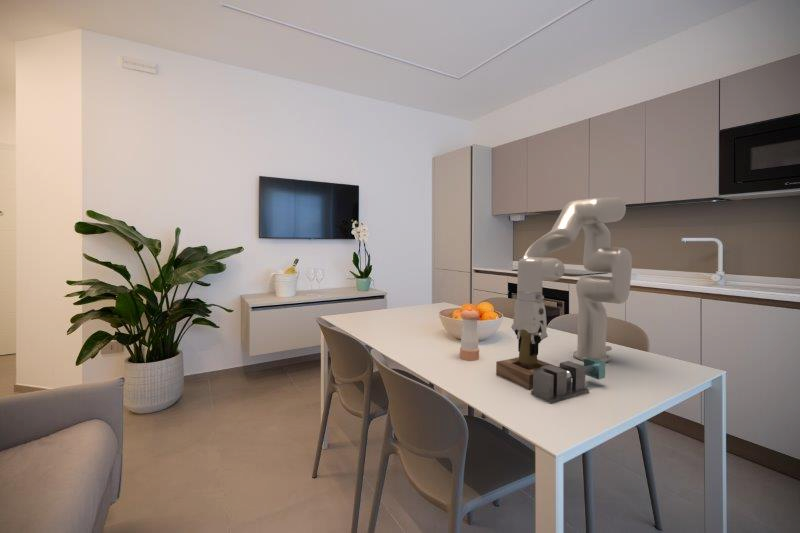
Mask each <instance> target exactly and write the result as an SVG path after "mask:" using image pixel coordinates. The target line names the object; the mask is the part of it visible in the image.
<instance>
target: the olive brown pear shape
mask: <svg viewBox="0 0 800 533" xmlns="http://www.w3.org/2000/svg"><path fill="white" fill-rule="evenodd" d="M520 336H521V337H522V339H521V345H520V352H518V357H519V358H518V357H517V358H518V361H519V362H520V363H523V364H537V363H538V360H539V359H538V355H535V354H534V356H530V343H532V342H531V334H530V333H528V332H527V331H526V330H524V329H522V330H520ZM535 338H536V335H535ZM537 359H538V360H537Z"/></svg>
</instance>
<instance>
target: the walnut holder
mask: <svg viewBox="0 0 800 533" xmlns="http://www.w3.org/2000/svg"><path fill="white" fill-rule="evenodd" d="M518 358H519V356H517V357H513V358H509V359H504V360H503V359H502V360H498V361H496V365H495V366H496V368H495V371H496V372H495V375H496V376H498V377H499V378H502V379H504V380H506V381H509V382H510V383H513V384H515V385H517V386H520V387H522V388H524V389H527V390H528V391H532V390H533V370H535V369H539V370H541V367H543V366H547V365H552V366H555V367H558V368H559V365H554V364H552V363H549V362H546V361H543V360H540V359H538V358H537V360H538V363H537V364H523V363H520V362H519V361H518Z"/></svg>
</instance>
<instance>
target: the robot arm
mask: <svg viewBox="0 0 800 533" xmlns="http://www.w3.org/2000/svg"><path fill="white" fill-rule="evenodd" d="M626 210H627V207H626V203H625V201H624V200H623V199H622V198H621V197H617V196H614V197H613V196H612V197H596V198H594V197H593V198H585V199H584V198H583V199H576V200H571V201H570V202H567V203H566V204H565V206H563V208H562V210H561V212H560V214H559V216H558V217H557V219H556V221H555V222H554V224H553V226H552V228H551V230H550V231H549V232H547V233H546V234H544V235H543V236H541V237H540V238H538V239H537V240H535V241H534V242H533V243H532V244H531V245H530V246H528V247H527V249H526V251H525V253H524V255H523V256H522V258H520V259H519V260H518V262H517V285H516V286H517V290H516V292H517V293H516V300H515V303H514V309H513V321H512V322H513V323H512V324H511V330H512V331H513V332H514V333H515V336H516V339H517V341H518V342H517V343H518V346H517V347H518V348H517V350H518V353H519V352H520V345H521V339H522V337H521V336H520V330H522V329H524V330H526V331H527V332H528V333H530V334H531V342H532V343H530V356H534V354H535V355H537V356H538V355H539V344H541V342H542V341H543V340H544V339H546V338H548V337H549V336H548V333H547V326H548V325H547V313H546V312H547V311H546V305H545V302H543V300H544V299H545V295H543V281H548V282H555V281H558V280H560V279H561V278H562V277H563V276H564V274H565V265H564V262H562V261H561V260H560V259H558V258H555V257H546V256H547V255H549V254H551V253H553V252H556V251H560V250H562V249H566V248H567V247H570V246H571V245H573V244H574V243H575V242H576V240H577V237H578V236H579V234H580V232H581V230H583V233H584V250H583V257H582V258H583V261H582V263H583V268H584V269H585V270H586V271H588V272H591V273H592V272H593V273H605V274H611V275H612V276H605V275H584V276H582V277H580V278H579V279H578V280H577V282H576V286H575V288H576V289H575V291H576V294H577V304H578V312H577V313H578V314H577V315H578V318H577V319H578V320H577V349H576V350H574V351H573V352H572V356H573V357H574V358H575V359H577V360H579V361H583V362H584V359H585V358H590V357H591V358H594V359H598V360H601V361H604V362H606V363H608V362H610V361H611V357H610V356H609V355H608V354H607V352H610V351H612V346H610V345H607V343H606V342H607V318H608V314H607V311H606V308H605V306H604V304H603V303H607V304H618V305H619V304H624V303H625V302H627V301H628V299H629V295H630V291H631V279H632V270H633V269H632V268H633V257H632V254H631V252H630V251H629V250H628V249H627V248H625V247H621V246H613V247H612V246H611V238H612V237H611V232H610V229H608V227H607V226H606V225H605V224H606V223H607V224H608V223H614V222H619V221H620V220H622V219H623V218H624V217H625V215H626ZM535 335H536V338H535Z"/></svg>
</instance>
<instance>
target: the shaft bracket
mask: <svg viewBox="0 0 800 533" xmlns="http://www.w3.org/2000/svg"><path fill="white" fill-rule="evenodd" d="M558 364H559V365H558V367H559V368H558V367H555V366H556V365H555V366H552V365H553V364H552V365H547V366H543V367H541V370H539V369H535V370H533V389H531V390H530V395H531V396H534V397H535V398H538V399H540V400H542V401H544V402H546V403H549V404H552V405H553V404H555V403H558V402H561V401H565V400H569V399H572V398H574V397H575V398H576V397H579V396H581V395H585V394H590V389H589V388H587V387H586V386H585V385H586V383H585V382H586V375H585V366H584V364H579V363H577V362H573V361H570V360H566V361H562V362H559V363H558ZM567 370H570V371H572V378H571V379H567Z"/></svg>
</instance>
